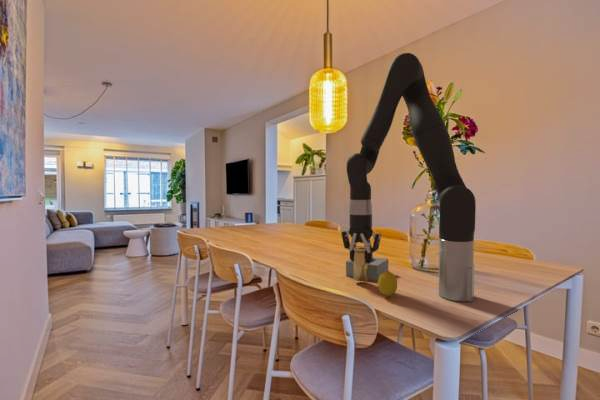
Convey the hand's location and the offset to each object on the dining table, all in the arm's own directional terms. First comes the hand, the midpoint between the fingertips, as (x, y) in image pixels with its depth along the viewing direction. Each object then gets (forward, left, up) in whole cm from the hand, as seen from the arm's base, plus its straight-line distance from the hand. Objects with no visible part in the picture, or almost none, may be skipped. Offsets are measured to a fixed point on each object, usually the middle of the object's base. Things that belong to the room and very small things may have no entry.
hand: (360, 262), depth 107 cm
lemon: (-12, +8, -8) cm, 16 cm away
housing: (+2, -11, -7) cm, 13 cm away
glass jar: (0, 0, -6) cm, 6 cm away
